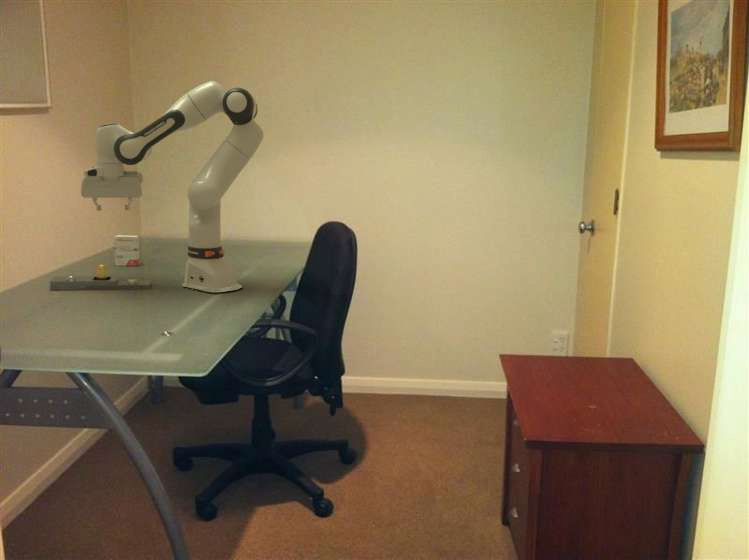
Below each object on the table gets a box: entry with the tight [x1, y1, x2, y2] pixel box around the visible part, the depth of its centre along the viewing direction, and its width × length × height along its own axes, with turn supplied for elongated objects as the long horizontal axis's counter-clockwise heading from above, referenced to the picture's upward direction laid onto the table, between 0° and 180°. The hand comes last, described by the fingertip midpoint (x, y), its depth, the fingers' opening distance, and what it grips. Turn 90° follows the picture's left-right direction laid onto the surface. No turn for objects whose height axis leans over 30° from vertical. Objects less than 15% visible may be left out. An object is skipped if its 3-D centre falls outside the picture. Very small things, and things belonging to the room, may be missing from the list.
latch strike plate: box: [49, 274, 152, 291], centre depth 243 cm, size 32×8×4 cm, turn 105°
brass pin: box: [95, 263, 109, 280], centre depth 242 cm, size 4×4×8 cm
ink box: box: [113, 234, 140, 267], centre depth 279 cm, size 9×5×12 cm, turn 96°
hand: (113, 210), depth 247 cm, fingers open, 8 cm apart
